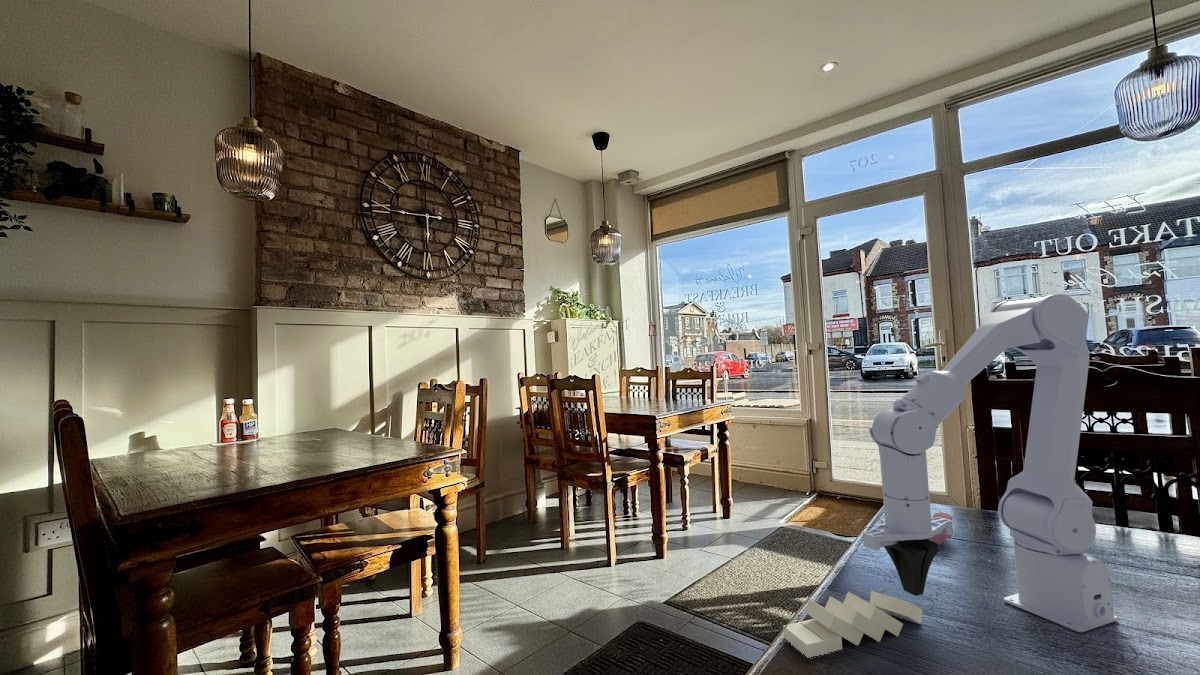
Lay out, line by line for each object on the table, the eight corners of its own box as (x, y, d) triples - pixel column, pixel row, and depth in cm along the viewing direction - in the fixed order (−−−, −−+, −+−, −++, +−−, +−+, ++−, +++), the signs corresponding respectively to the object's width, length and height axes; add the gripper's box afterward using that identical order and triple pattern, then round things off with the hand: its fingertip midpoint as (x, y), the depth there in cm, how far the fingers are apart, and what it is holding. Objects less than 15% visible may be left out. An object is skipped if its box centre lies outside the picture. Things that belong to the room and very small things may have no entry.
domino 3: (885, 629, 66) (857, 611, 65) (879, 642, 66) (851, 625, 65) (856, 611, 71) (830, 595, 70) (851, 624, 70) (824, 608, 69)
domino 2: (863, 632, 66) (835, 615, 65) (858, 646, 65) (829, 629, 64) (836, 615, 70) (809, 598, 69) (831, 627, 70) (803, 611, 69)
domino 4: (903, 623, 67) (875, 606, 66) (897, 636, 67) (870, 620, 66) (874, 607, 72) (848, 591, 71) (869, 619, 71) (842, 603, 70)
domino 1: (841, 636, 65) (807, 644, 63) (842, 650, 65) (808, 659, 63) (815, 618, 69) (783, 625, 68) (816, 631, 69) (783, 639, 68)
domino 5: (922, 610, 70) (909, 601, 67) (921, 624, 69) (907, 616, 67) (885, 598, 74) (871, 590, 71) (883, 612, 73) (869, 604, 70)
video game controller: (939, 561, 92) (957, 529, 91) (912, 545, 95) (929, 514, 93) (942, 543, 100) (959, 513, 99) (917, 529, 103) (933, 500, 101)
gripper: (918, 482, 78) (925, 571, 78) (843, 495, 74) (850, 590, 73) (963, 493, 71) (971, 591, 71) (884, 508, 67) (892, 612, 66)
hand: (913, 592), depth 71 cm, fingers closed
